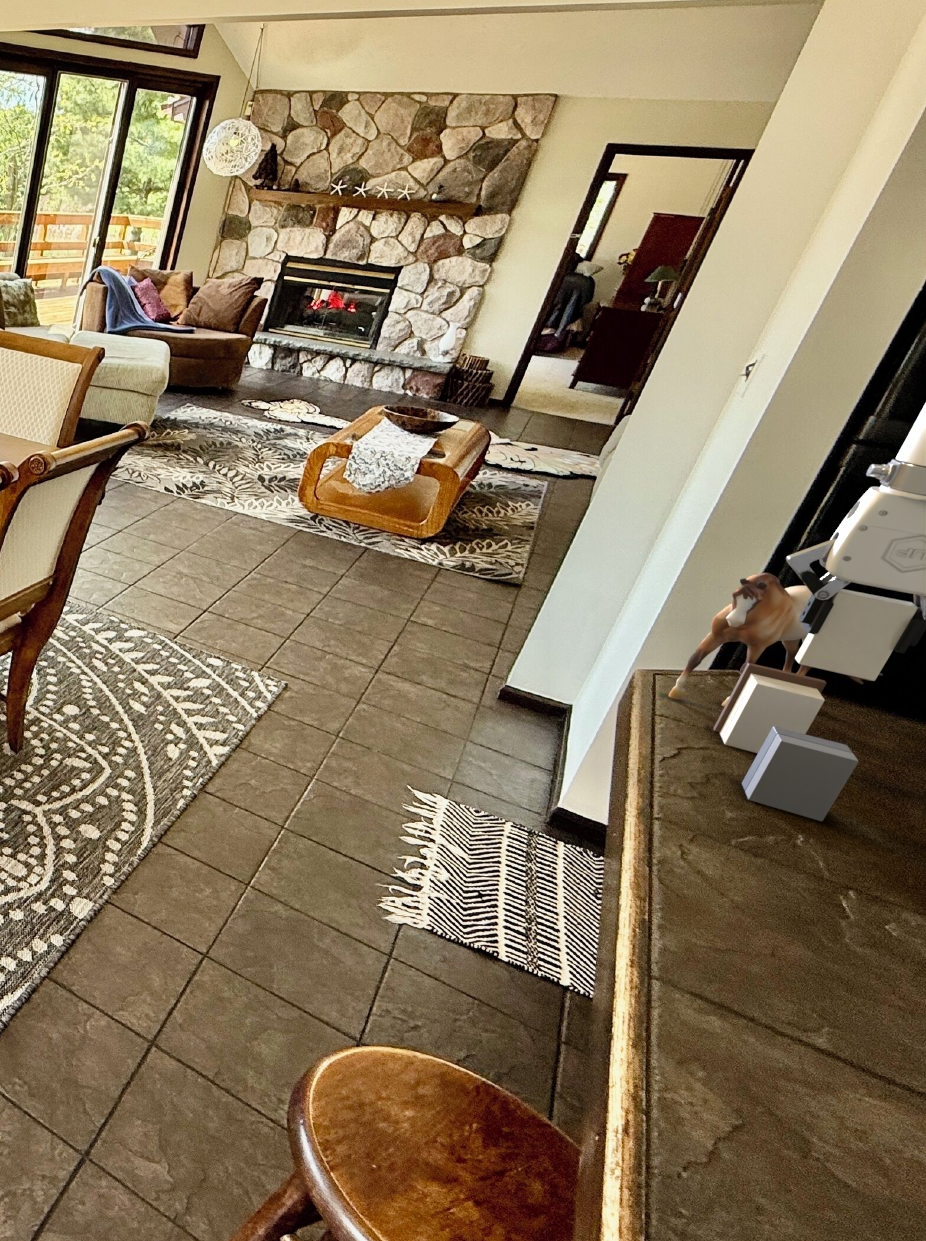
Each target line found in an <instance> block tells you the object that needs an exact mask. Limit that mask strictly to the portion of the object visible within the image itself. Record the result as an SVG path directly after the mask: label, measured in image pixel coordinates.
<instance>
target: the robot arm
mask: <svg viewBox="0 0 926 1241" xmlns="http://www.w3.org/2000/svg"><path fill="white" fill-rule="evenodd" d="M865 474H866V477H870V478H875V479H877V480H879V483H880V486H870V487H869V488H868V490H866V491H865V493H863V494H862V496H861V497H860V498H859V499H858V500H857V502H856V503H855V504H854V505H853V507H852V508H851V509H850V510H849V512H848V513H847V514H846V516H845V517H844V518H843V519H842V521H841V523H839V526H838V527H837V529H835V532H833V535H832V536H831V537H830V538H829V540H826V541H824V542H821V543H819V544H816V545H813V546H810V547H808V548H805V549H802V550H800V551H796V552H794V553H792V554H788V555H787V556H786V557H785V561H786V563H788V565H789V566H790V567H791V568H792V570H793V572H795V574H796V575H797V576H798V578H799V579H800V580H801V582H802V583H803V584H804V586H807V588H808V589H809V590H810V592H811V593H812V595H811V596H810V598H809V600H808V602H807V604H806V606H805V607H804V609H803V611H802V613H801V615H800V617H799V621H800V622H802V623H803V624H802V627H803V628H804V629H805V630H806V632H807V633H810V634H815V633H816V634H818V632H819V631H820V629H821V627H822V625H823V624H824V622H825V620H826V618H827V616H828V615H829V613H830V611H831V609H832V607H833V605H834V603H832V602H831V599H832V598H833V595H834V594H836V593H837V592H838V591H840V590H841V589H844V588H845V587H847V586H848V585H849V584H851V583H855V584H859V585H863V586H868V587H869V586H870V587H875V588H880V589H884V590H889V591H895V592H900V593H907V594H911V595H912V594H913V604H914V605H916V606H917V607H918V609H917V611H916V612H915V614H914V616H913V617H912V619H911V620H910V622H909V624H908V625H907V627H906V629H905V630H904V632H903V634H902V635H901V637H900V639H899V641H898V642H897V644H896V646H895V647H894V649H893V651H894V652H895V653H900V654H905V653H906V652H907V650H908V648H909V647H910V646H911V647H915V646H917V645H918V643H919V641H920V640H921V638H922V637H923V635H924V633H925V632H926V402H925V403H924V405H923V407H922V409H921V410H920V412H919V414H918V416H917V418H916V420H915V421H914V423H913V425H912V427H911V429H910V430H909V432H908V435H907V436H906V438H905V440H904V442H903V444H902V445H901V447H900V449H899V450H898V453H897V455H896V457H895V459H894V458H892V459H891V461H890V462H888V463H887V464H885V463H882V464H878V463H877V464H875V463H872V464H870V465H869V467H868V469H867V470H866V473H865ZM818 560H819V564H820V566H822V567H823V568H825V570H826V571H827V572H826V573H825V574H824V575H823V576H821V577H820V578H819V576H818V575H817V574H816V573H815V572H814V570H813V569H812V567H811V566H810V565H811V564H812V563H813V562H815V561H818Z"/></svg>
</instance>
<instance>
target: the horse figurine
mask: <svg viewBox="0 0 926 1241" xmlns="http://www.w3.org/2000/svg"><path fill="white" fill-rule="evenodd" d="M739 583H740V585H741V586H738V588H736V589H735V591H733V592H732V593H731V597H732V602H731V603H730V604H728V605H726V606H725V607H724V608H723V609H722V610H720V611H719V612H718V613H716V614H715V615H714V616H713V618H712V620H711V625H710V630H711V631H710V632H709V633H708V634H707V635H706V636H705V637H704V638H703V640H702V641H701V642H700V643H699V644H698V646H697V648H696V650H695V651H694V652H693V653H692V654H691V655H690V657H689V659H688V660H687V664H686V666H685V668H684V669H683V671H682V672H681V674H680V676H679V677H678V678H677V679H676V683H675V685H674V686H673V687H672V688H671V690H670V691H669V693H668V697H669V698H670V699H673V700H681V699H683V698H684V697H685V694H686V688H684V686H685V685H686V684H687V683H688V679H689V677H690V676H691V673H693V671H694V670H695V669H696V668H697V667H699V666H700V665H701V663H702V662H703V661H704V659H705V658H706V657H707V656H709V655H710V654H712V653H713V652H714V651H715V650H717V649H718V648H719V647H721V646H722V645H723V644H726V643H729V642H730V643H732V642H733V643H737V642H740V643H742V644H745V645H746V646H747V650H746V659H745V662H744V663H743V664H742V665H741V667H740V670H739V672H740V675H741V674H742V673H743V671H744V669H745V667H746V665H747V663H752V664H756V663H757V661H758V659H759V658H760V657H761V655H762V654H763V652H764V651H765V650H766V649H767V648H768V647H769V646H771V645H773V644H775V643H776V642H781V643H782V645H783V646H784V648H785V650H786V654H785V663H784V665H783V669H782V671H786V672H790V673H792V667H793V665H794V663H795V661H796V659H795V657H796V655H797V653H798V651H799V649H800V646H799V643H800V641H802V643H803V642H804V640H805V639H806V637H807V635H808V633H807V632H806V630H805V629H804V628H803V627H802V624H803V623H802V622H800V621H799V617H800V615H801V613H802V611H803V609H804V607H805V606H806V604H807V602H808V600H809V598H810V596H811V595H812V593H811V592H810V590H809V589H808V588H807V586H806V585H794V586H789V587H785V588H784V587H783V585H782V584H781V582H780V580H779V578H778V577H777V576H775V575H774V574H772V573H769V572H761V573H760V574H752V575H750V576H748V577H747V578H745V577H742V578H740V579H739ZM812 668H813V667H810V666H806V665H802V664H800V666H799V669H798V671H797V672H796V673H795V674H799V675H803V676H806V674H807V673H808V672H809V671H810V670H811V669H812ZM847 676H848V678H850V679H851V680H852V681H854V682H856V683H858V684H860V685H863V684H864V682H863V681H869V682H870V681H871V682H872V680H867V679H863V678H859V677H854V676H850V675H847ZM878 676H883V673H881V672H880V673H879V675H878ZM730 696H731V695H730ZM730 696H728V697H726V699H725V700H723V702H722V703H721V707H723V708H724V707H725V705H726V703H727V701H728V699H729V697H730Z"/></svg>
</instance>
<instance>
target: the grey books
mask: <svg viewBox="0 0 926 1241" xmlns="http://www.w3.org/2000/svg"><path fill="white" fill-rule="evenodd" d="M756 754H757V755H756V756H755V758H754V760H753V762H752V764H751V765H750V767H749V769H748V771H747V773H746V775H745V776H744V778H743V780H742V782H741V786H742V788H743V790H744V794H745V795H746V798H747V800H748V801H751V802H755V803H758V804H761V805H765V806H768V807H770V808H774V809H778V810H781V811H784V812H788V813H793V814H794V815H797V816H798V815H799V816H801V817H805V818H808V819H812V820H814V821H819V822H823V821H824V820H825V818H826V817H827V816H828V813H829V812H830V810H831V808H832V806H833V805H834V803H835V801H836V800H837V798H838V797H839V796H840V793H841V792H842V790H843V788H844V786H846V783H847V782H848V780H849V778H850V777H851V775H852V773H853V771H854V770H855V768H856V767H857V765H858V764H859V761H860V760H858V758H857V757H856V755H855V754H854V752H852V750H851V748H850V747H849V746H848V744H844V743H841V742H837V741H832V740H828V739H824V738H822V737H818V736H813V735H809V734H807V733H806V734H802V733H798V732H794V731H790V730H786V729H783V728H779V727H775V726H773V727H772V729H771V731H770V733H769V734H768V736H767V738H766V740H765V742H764V743H763V745H762V747H761V749H760V751H759V753H756Z"/></svg>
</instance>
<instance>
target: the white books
mask: <svg viewBox="0 0 926 1241" xmlns="http://www.w3.org/2000/svg"><path fill="white" fill-rule="evenodd" d="M739 676H740V677H739V678H738V679H737V681H736V682H737V683H736V684H735V686H734V688H733V690H732V692H731V694H730V697H729V696H728V697H729V699H728V701H727V703H726V705H725V707H723V709H722V711H721V713H720V715H719V717H718V719H717V720H716V722H715V724H714V726H713V731H714V732H715V733H718V734H719V735H720V738H721V740H722V742H723V744H724V745H726V746H728V747H732V748H736V749H739V750H743V751H747V752H750V753H754V754H758V753H759V751H760V749H761V747H762V745H763V743H764V742H765V740H766V738H767V736H768V734H769V733H770V731H771V729H772V727H773V726H775V727H779V728H783V729H786V730H790V731H794V732H798V733H802V734H806V735H807V732H808V730H809V728H810V727H811V726H812V724H813V722H814V720H815V718H816V717H817V715H818V712H820V709H821V708H822V706H823V705H824V702H825V701H826V700H825V698H824V697H823V696H822V692H823V690H824V688H825V687H826V685H827V682H826V680H824V679H821V678H816V677H811V676H808V675H805V676H803V675H799V674H796V673H795V672H791V673H790V672H786V671H783V669H782V670H781V669H778V668H773V667H769V666H764V665H760V664H756V663H755V664H752V663H747V665H746V667H745V669H744V671H743V673H742V674H741V673H740V675H739Z"/></svg>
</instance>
